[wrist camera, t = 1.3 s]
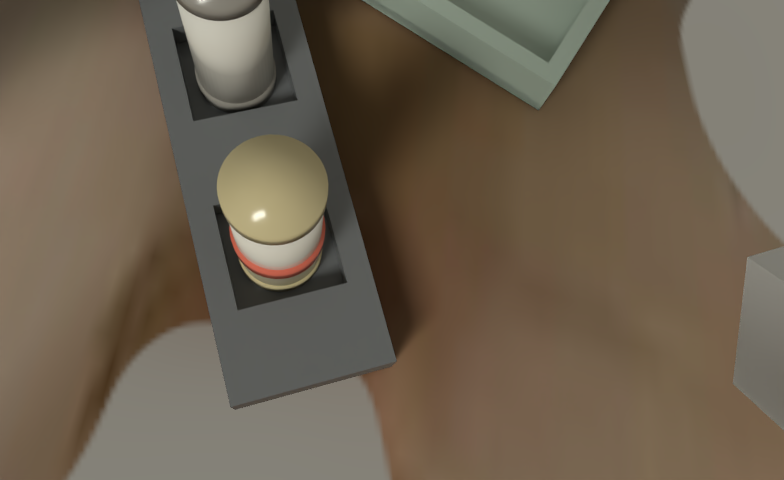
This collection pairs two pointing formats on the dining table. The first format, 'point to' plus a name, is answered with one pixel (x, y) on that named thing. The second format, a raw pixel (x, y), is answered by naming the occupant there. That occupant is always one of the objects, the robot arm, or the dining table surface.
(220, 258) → the fuse holder
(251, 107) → the plain fuse
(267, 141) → the marked fuse
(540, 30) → the tray
